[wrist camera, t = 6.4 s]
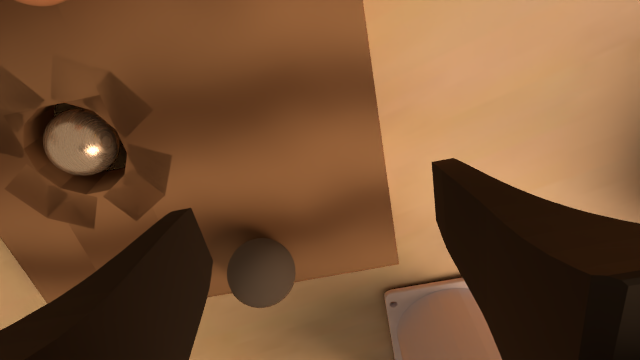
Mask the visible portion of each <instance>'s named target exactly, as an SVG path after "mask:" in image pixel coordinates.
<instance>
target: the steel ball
mask: <svg viewBox="0 0 640 360" xmlns="http://www.w3.org/2000/svg"><path fill="white" fill-rule="evenodd" d="M43 146H44V150H45V153H46V155H47V157H48V158H49V160H50V161H51V162H52V163H53V164H54V165H55V166H56V167H58V168H59V169H61V170H63V171H65V172H67V173H70V174H74V175H82V176H85V175H93V174H96V173H99V172H101V171H103V170H105V169H106V168H108V167H109V166H110V165H111V164H112V163H113V162H114V160H115V159H116V157H117V155H118V153H119V148H120V139H119V135H118V133H117V131H116V129H115V128H113V127H112V126H111V125H110V124H108V123H107V122H106V121H105V120H104V119H102V118H101V117H100V116H99V115H98V114H96V113H95V112H94V111H92V110H88V109H72V110H67V111H65V112H62V113H60V114H58V115H57V116H55V117H54V118H53V119H52V120H51V121H50V122H49V124H48V125H47V127H46V129H45V131H44V135H43Z"/></svg>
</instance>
